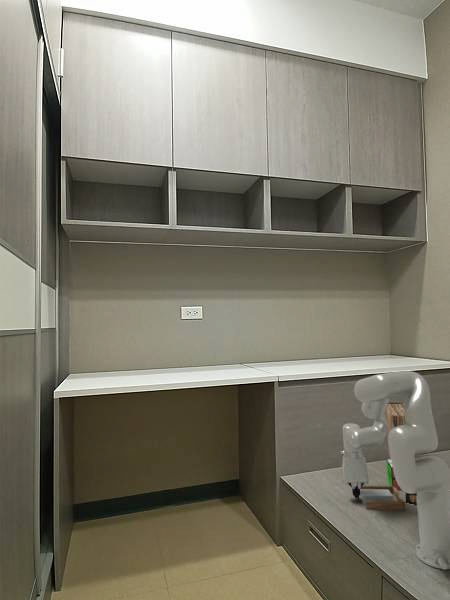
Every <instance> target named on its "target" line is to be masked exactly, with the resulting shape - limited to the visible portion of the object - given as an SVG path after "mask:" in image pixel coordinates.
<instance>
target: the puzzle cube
mask: <svg viewBox="0 0 450 600" xmlns="http://www.w3.org/2000/svg"><path fill="white" fill-rule="evenodd" d="M385 462H386V471H387V472H386V473H387V481H388V483H389V486H395V488H396V489H397V491H403V490H402V489H401V488H400V487H399V485H398V484H397V481H396V479H395V475H394V471H393V466H392V460H391V459H389V458H388V459H386V460H385Z"/></svg>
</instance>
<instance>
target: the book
mask: <svg viewBox="0 0 450 600" xmlns="http://www.w3.org/2000/svg"><path fill="white" fill-rule="evenodd" d="M404 405H405V403H403V402H388V405H387V407H386V410H385V413H384V416H385V417H386V420H387V423H388V432H387V435H386V443H387V453H388V459H391V455H390V450H389V444H388V437H389V433H390V431H391V430H392V429H393V428H394V427H397V426H402V425H405V424H406V421H405V415H404ZM415 458H418V457H417V455H415Z"/></svg>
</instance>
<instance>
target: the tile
mask: <svg viewBox="0 0 450 600" xmlns="http://www.w3.org/2000/svg"><path fill="white" fill-rule="evenodd" d="M374 490H375V492H376V494H377V495H378V501H394V495H393V494H391V493H390V491H389V490H388V489H374Z"/></svg>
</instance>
